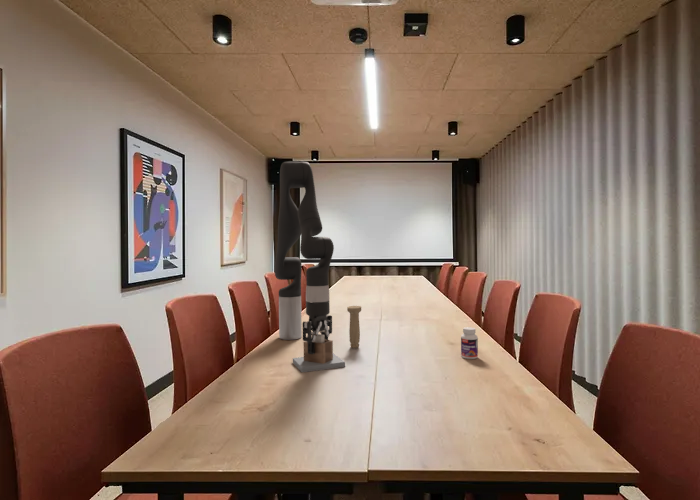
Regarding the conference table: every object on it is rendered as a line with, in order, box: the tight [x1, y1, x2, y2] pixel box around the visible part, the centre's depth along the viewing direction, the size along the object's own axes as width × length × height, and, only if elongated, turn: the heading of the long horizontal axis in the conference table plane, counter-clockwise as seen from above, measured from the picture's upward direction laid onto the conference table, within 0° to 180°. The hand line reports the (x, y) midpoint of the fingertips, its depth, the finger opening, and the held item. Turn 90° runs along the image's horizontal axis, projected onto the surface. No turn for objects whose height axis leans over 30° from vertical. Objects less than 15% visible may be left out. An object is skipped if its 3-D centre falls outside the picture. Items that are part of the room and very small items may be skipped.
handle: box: [346, 305, 362, 349], centre depth 152 cm, size 5×6×15 cm
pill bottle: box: [460, 326, 479, 360], centre depth 137 cm, size 5×5×10 cm
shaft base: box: [292, 333, 346, 373], centre depth 130 cm, size 11×14×10 cm
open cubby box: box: [303, 339, 334, 364], centre depth 130 cm, size 7×6×6 cm
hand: (318, 350), depth 130 cm, fingers open, 7 cm apart
